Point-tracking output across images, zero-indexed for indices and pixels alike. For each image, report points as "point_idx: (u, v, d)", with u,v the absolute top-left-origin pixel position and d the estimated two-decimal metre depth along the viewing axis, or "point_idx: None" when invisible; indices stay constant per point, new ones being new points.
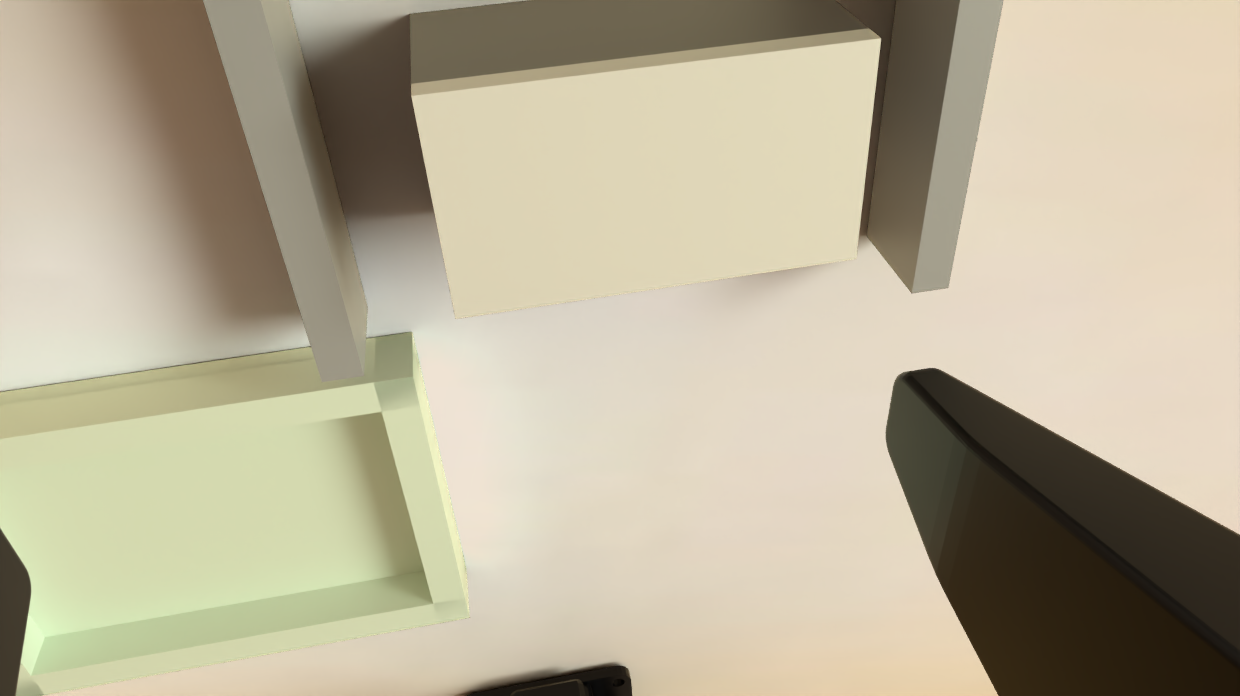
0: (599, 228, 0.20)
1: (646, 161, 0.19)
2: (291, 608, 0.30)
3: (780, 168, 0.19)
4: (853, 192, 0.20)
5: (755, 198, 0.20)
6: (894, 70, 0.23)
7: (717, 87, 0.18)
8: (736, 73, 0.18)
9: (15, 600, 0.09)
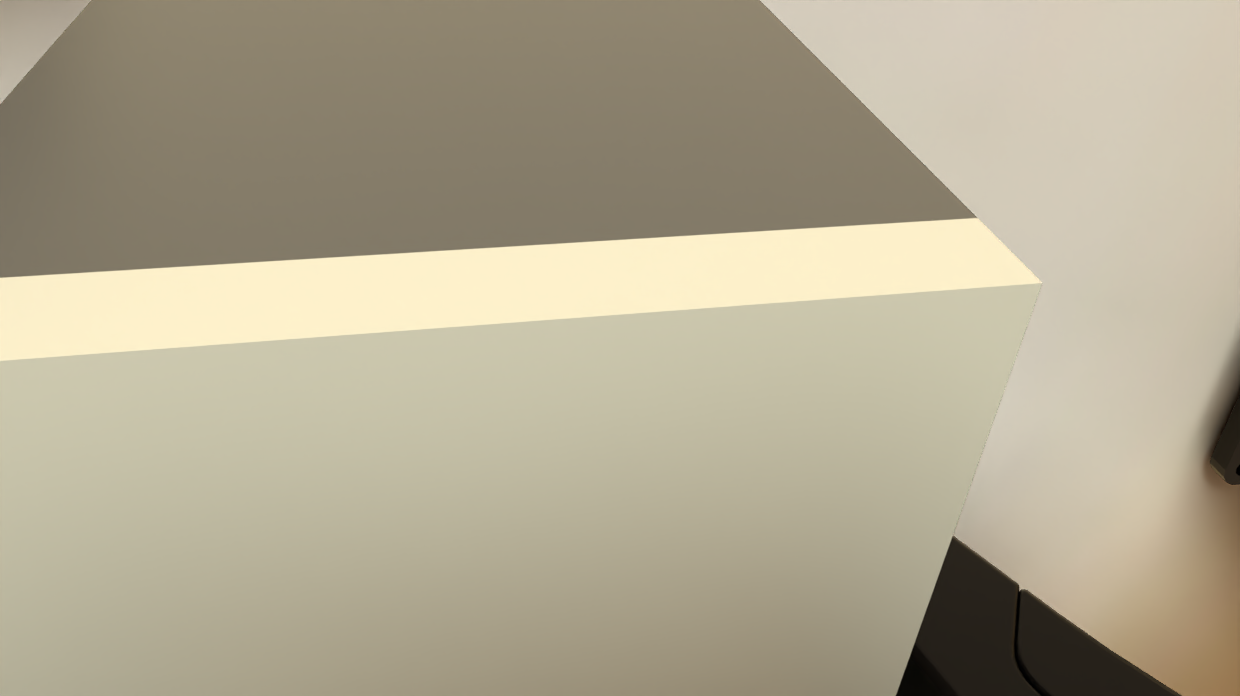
0: None
1: None
2: None
3: (492, 624, 0.05)
4: (662, 357, 0.04)
5: (602, 671, 0.05)
6: None
7: None
8: None
9: None
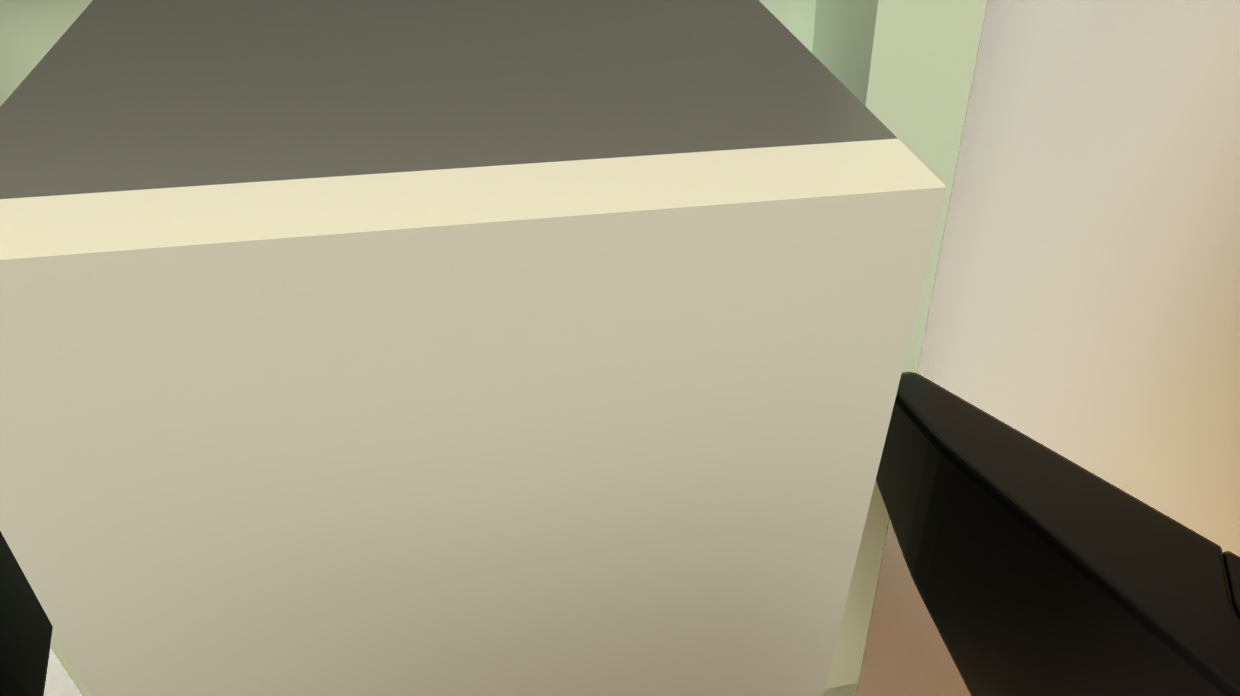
0: None
1: None
2: None
3: (480, 508, 0.06)
4: (615, 255, 0.05)
5: (580, 555, 0.06)
6: None
7: (193, 695, 0.06)
8: (141, 665, 0.06)
9: None
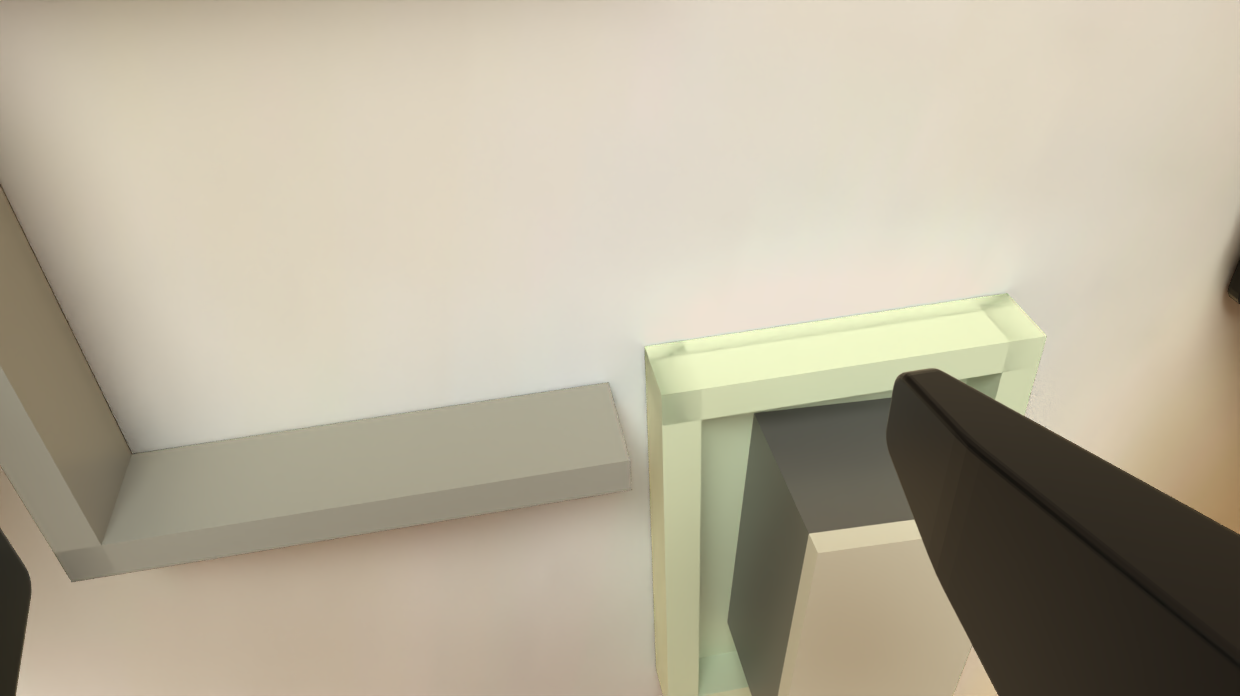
0: (904, 679, 0.26)
1: (863, 663, 0.25)
2: None
3: (904, 591, 0.23)
4: None
5: (922, 602, 0.24)
6: None
7: (821, 637, 0.24)
8: (815, 629, 0.23)
9: (15, 600, 0.09)
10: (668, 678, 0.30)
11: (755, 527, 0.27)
